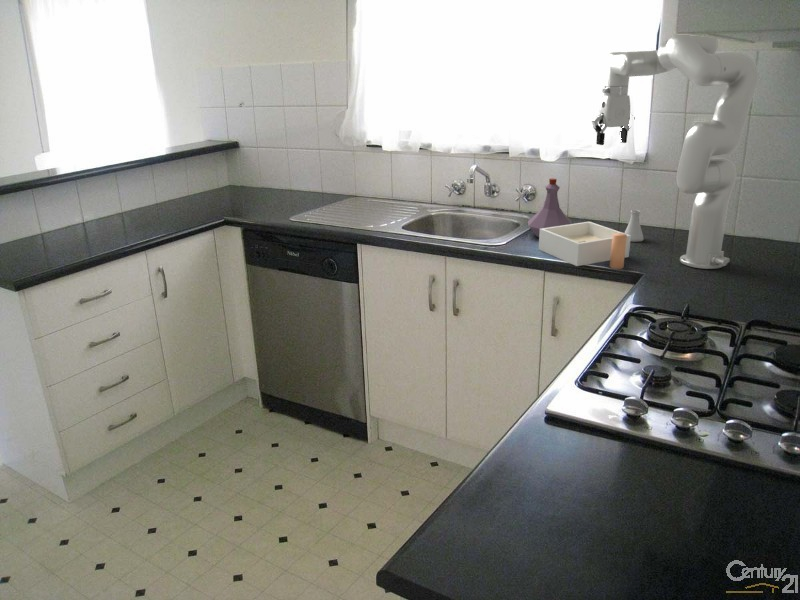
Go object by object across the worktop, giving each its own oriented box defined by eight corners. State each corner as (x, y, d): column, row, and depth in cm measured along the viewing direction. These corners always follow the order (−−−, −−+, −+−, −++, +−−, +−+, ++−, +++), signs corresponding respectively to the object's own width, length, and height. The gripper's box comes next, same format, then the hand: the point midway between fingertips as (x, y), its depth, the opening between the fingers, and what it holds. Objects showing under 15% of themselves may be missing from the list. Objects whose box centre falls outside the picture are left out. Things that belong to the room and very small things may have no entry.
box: (628, 257, 212) (630, 235, 210) (576, 266, 205) (578, 244, 202) (587, 241, 230) (589, 221, 227) (538, 249, 222) (539, 228, 220)
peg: (626, 267, 203) (629, 235, 199) (615, 269, 201) (618, 237, 198) (617, 264, 206) (620, 232, 202) (606, 266, 205) (609, 234, 201)
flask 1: (559, 228, 247) (562, 173, 240) (582, 239, 232) (587, 181, 225) (518, 232, 243) (520, 176, 235) (539, 244, 228) (542, 185, 221)
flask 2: (645, 242, 227) (648, 213, 223) (622, 242, 228) (625, 213, 225) (642, 237, 234) (645, 208, 230) (620, 236, 235) (623, 208, 231)
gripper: (602, 93, 219) (598, 146, 225) (644, 90, 226) (638, 142, 232) (587, 92, 226) (583, 144, 232) (628, 89, 232) (623, 140, 238)
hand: (611, 143), depth 232 cm, fingers open, 9 cm apart
